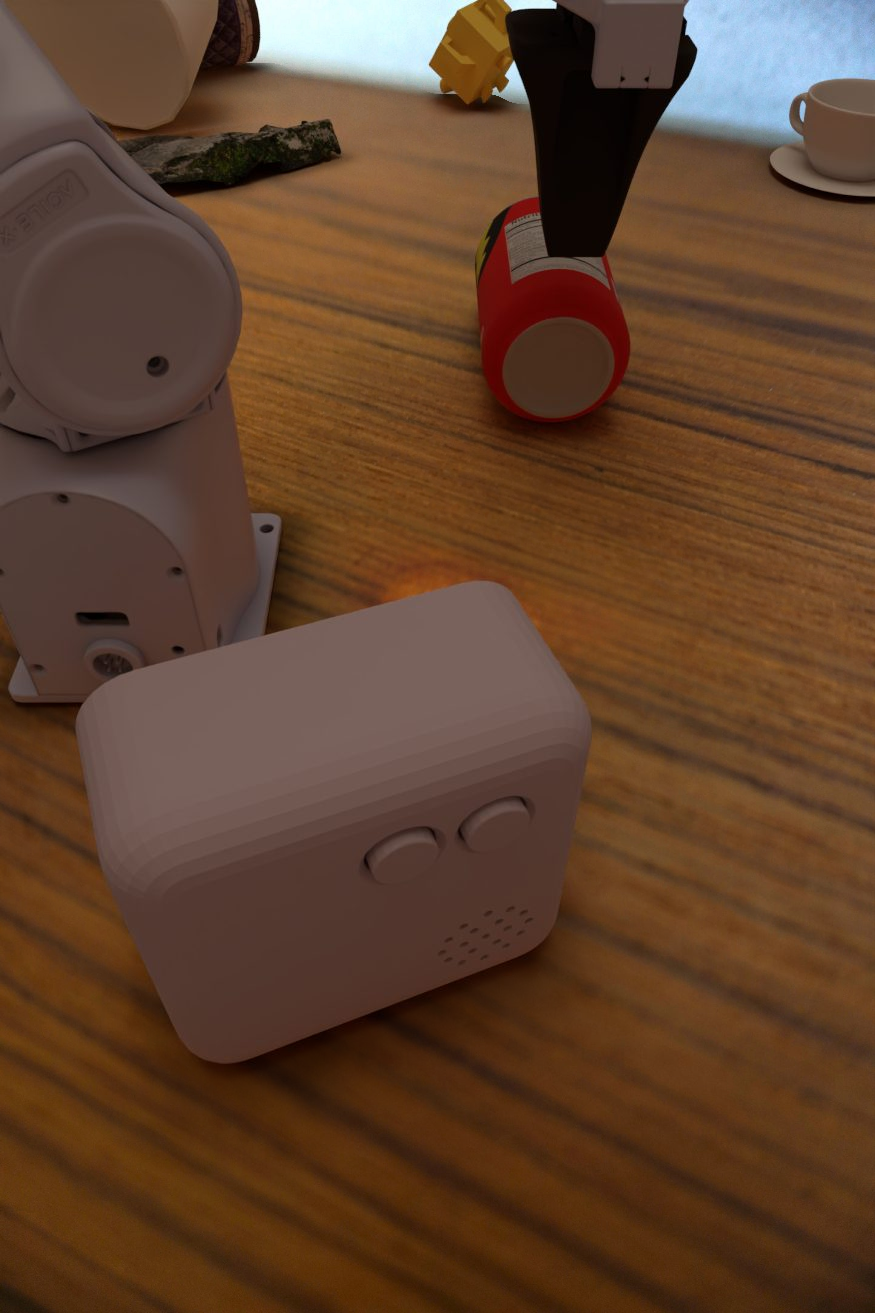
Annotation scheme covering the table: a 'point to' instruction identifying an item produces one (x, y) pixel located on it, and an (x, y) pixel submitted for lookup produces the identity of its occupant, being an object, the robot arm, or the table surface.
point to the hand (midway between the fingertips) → (574, 249)
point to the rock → (231, 152)
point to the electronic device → (336, 812)
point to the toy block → (475, 51)
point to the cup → (123, 52)
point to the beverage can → (546, 321)
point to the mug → (233, 35)
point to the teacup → (833, 138)
